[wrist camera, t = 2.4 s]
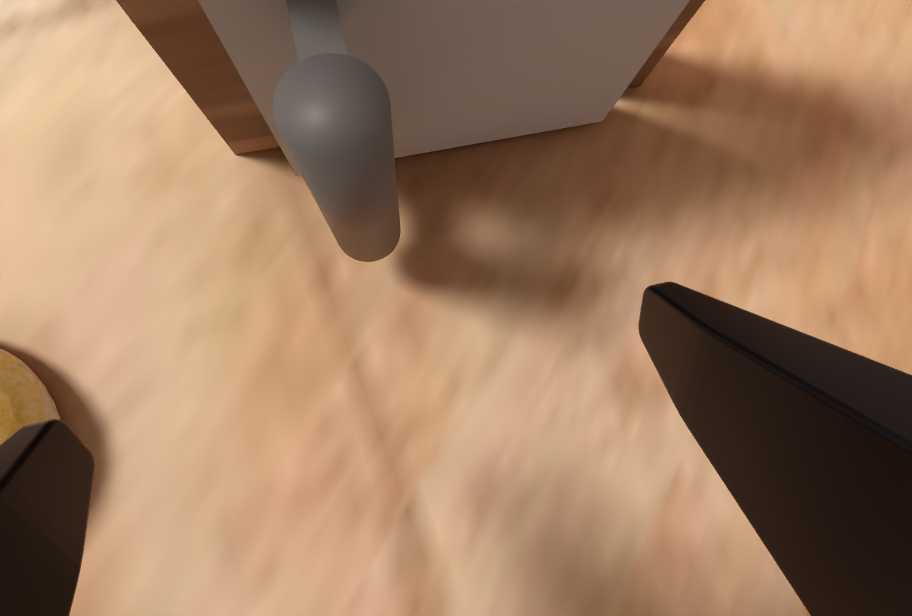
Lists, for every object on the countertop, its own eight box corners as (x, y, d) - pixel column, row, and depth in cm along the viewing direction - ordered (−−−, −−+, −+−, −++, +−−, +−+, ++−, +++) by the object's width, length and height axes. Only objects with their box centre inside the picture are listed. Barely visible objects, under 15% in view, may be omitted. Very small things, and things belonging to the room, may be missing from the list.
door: (630, 222, 21) (1069, -103, 7) (317, 286, 19) (75, 37, 5) (595, 94, 21) (928, -436, 8) (290, 146, 20) (15, -388, 6)
